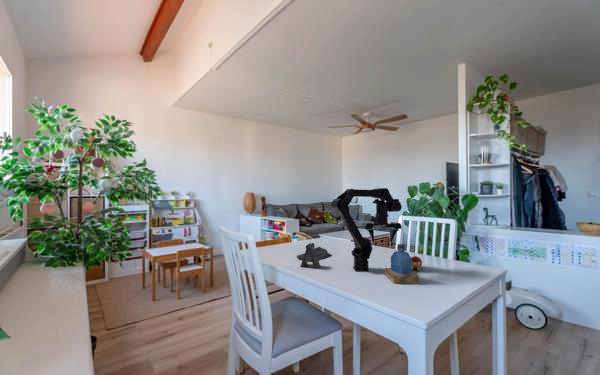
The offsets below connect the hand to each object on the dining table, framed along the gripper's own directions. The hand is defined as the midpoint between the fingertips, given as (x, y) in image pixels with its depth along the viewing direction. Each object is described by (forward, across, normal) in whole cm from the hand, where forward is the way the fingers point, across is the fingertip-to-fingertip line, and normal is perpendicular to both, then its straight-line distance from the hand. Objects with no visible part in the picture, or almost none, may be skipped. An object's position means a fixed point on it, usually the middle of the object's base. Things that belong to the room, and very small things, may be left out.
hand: (381, 242), depth 146 cm
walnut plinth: (+13, -3, +19) cm, 23 cm away
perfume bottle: (+10, -3, +19) cm, 21 cm away
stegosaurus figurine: (+14, +34, -22) cm, 43 cm away
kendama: (+13, -14, +6) cm, 20 cm away
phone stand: (+13, +37, -2) cm, 39 cm away
